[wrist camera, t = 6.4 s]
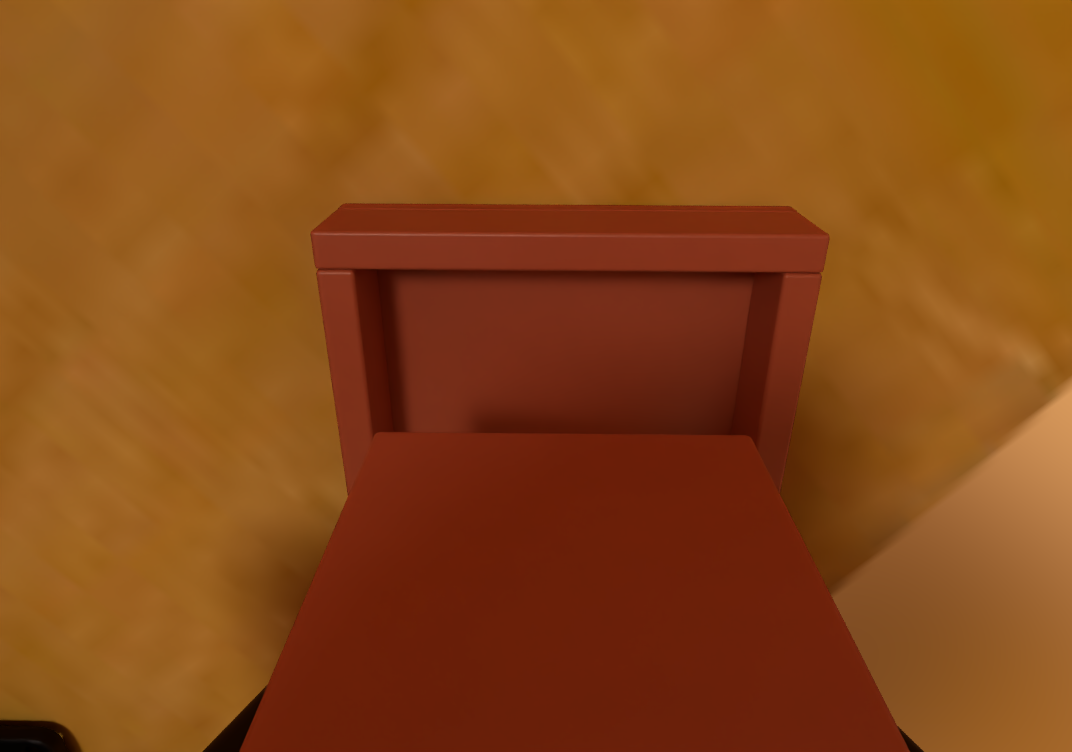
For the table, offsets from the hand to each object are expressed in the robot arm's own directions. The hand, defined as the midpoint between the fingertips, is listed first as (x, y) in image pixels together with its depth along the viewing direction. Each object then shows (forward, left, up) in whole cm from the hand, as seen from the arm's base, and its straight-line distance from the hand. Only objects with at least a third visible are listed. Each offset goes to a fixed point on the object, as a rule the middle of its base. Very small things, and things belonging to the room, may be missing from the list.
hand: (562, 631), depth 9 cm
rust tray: (0, 0, -5) cm, 5 cm away
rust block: (0, 0, -1) cm, 1 cm away
